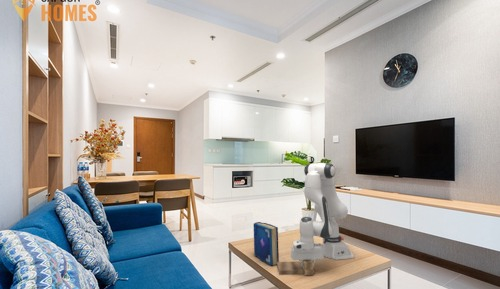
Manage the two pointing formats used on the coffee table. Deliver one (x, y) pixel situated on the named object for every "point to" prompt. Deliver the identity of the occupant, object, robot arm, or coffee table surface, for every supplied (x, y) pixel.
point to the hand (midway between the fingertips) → (307, 266)
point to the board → (290, 268)
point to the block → (308, 267)
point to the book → (266, 243)
